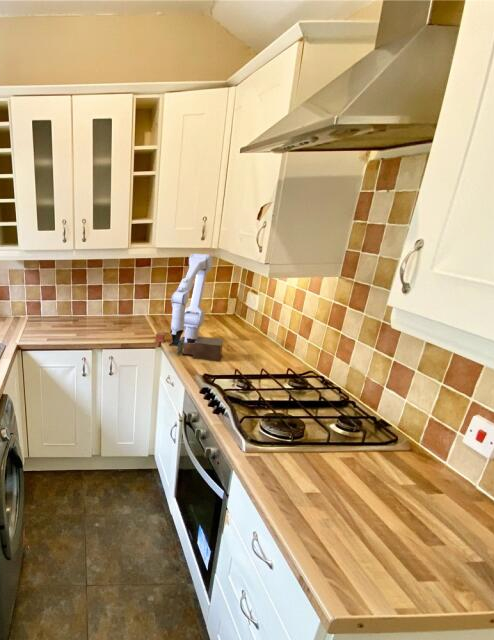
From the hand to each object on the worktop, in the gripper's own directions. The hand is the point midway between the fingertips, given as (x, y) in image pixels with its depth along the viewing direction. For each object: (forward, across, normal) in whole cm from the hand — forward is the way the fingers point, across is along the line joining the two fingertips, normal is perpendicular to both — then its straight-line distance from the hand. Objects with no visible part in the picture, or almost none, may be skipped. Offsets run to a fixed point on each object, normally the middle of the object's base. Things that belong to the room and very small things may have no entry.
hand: (175, 345), depth 197 cm
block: (+3, +14, +11) cm, 18 cm away
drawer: (+3, 0, -5) cm, 6 cm away
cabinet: (+3, 0, -15) cm, 16 cm away
